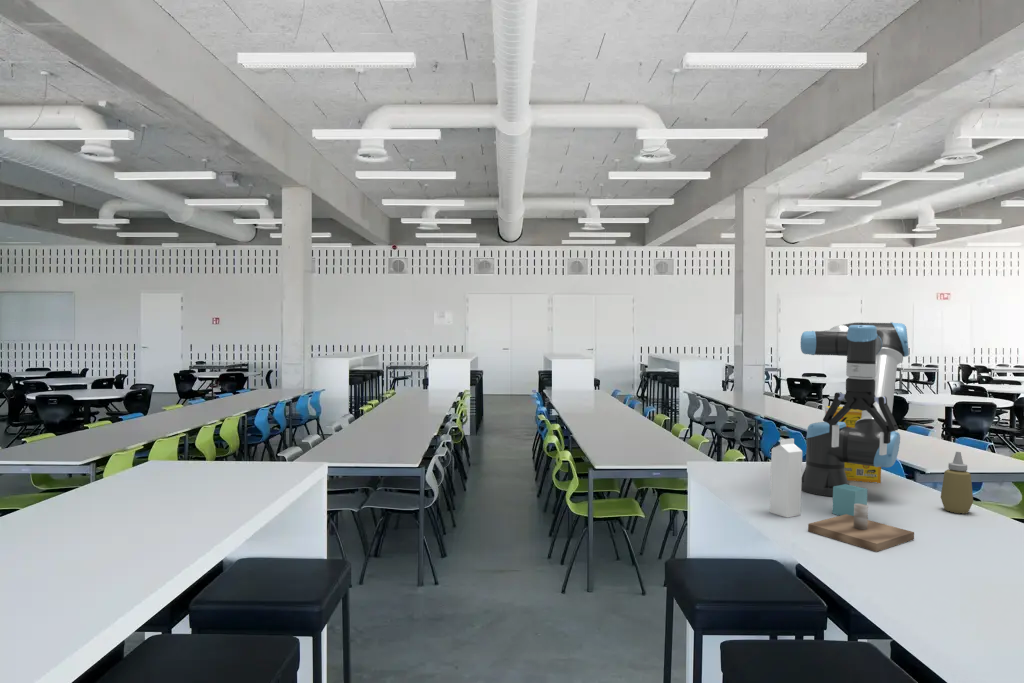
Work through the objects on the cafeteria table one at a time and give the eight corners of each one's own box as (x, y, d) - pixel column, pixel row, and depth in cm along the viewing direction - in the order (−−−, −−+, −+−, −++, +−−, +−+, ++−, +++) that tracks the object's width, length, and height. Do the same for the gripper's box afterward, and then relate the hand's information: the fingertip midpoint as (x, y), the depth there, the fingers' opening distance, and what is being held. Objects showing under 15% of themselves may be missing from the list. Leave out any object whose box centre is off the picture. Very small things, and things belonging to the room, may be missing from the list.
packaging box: (823, 469, 246) (825, 405, 246) (870, 473, 241) (872, 408, 241) (830, 479, 231) (832, 410, 230) (880, 483, 226) (882, 413, 225)
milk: (769, 512, 187) (771, 438, 186) (783, 510, 190) (784, 436, 189) (787, 518, 181) (788, 441, 181) (801, 515, 184) (802, 439, 184)
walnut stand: (808, 531, 170) (808, 501, 170) (845, 521, 179) (846, 493, 179) (876, 551, 155) (877, 519, 154) (913, 539, 164) (914, 509, 164)
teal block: (832, 513, 187) (833, 486, 187) (844, 510, 190) (845, 484, 190) (854, 519, 181) (855, 491, 181) (866, 516, 185) (867, 488, 185)
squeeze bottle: (978, 516, 187) (980, 455, 186) (947, 514, 188) (949, 453, 188) (964, 508, 195) (966, 450, 194) (935, 506, 196) (937, 448, 196)
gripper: (812, 375, 192) (810, 444, 193) (900, 381, 172) (898, 459, 173) (825, 374, 197) (823, 442, 197) (913, 380, 177) (910, 456, 177)
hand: (858, 450), depth 185 cm, fingers open, 13 cm apart
